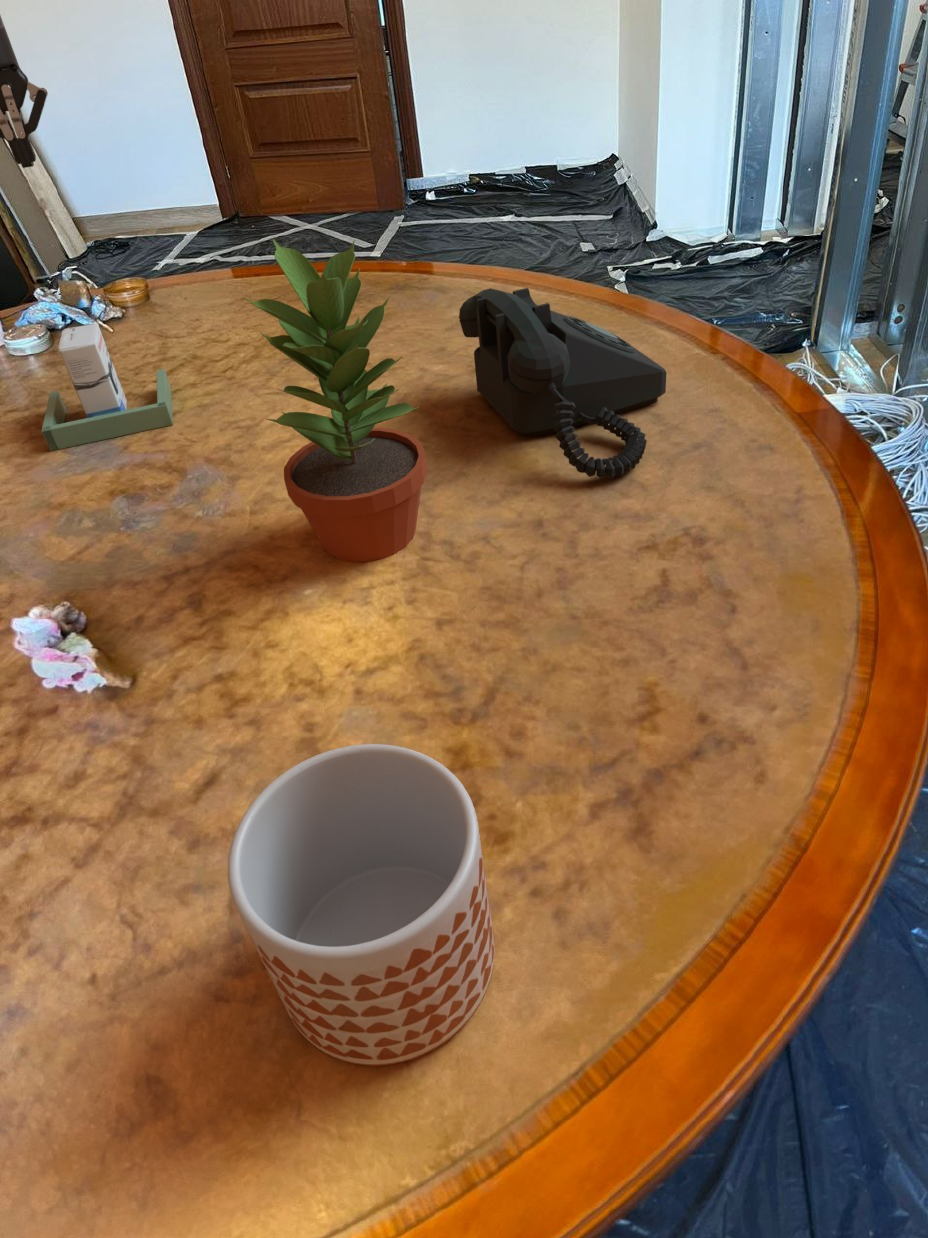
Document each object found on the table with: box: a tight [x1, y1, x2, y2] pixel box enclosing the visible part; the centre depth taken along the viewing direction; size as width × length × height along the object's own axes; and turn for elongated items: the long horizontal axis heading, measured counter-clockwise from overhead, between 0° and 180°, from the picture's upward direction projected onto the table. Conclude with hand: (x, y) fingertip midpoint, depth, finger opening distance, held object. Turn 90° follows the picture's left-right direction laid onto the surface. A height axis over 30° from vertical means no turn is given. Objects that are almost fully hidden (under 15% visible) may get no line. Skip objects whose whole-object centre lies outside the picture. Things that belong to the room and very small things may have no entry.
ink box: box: [57, 322, 128, 418], centre depth 118 cm, size 8×5×12 cm, turn 16°
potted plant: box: [243, 237, 429, 563], centre depth 82 cm, size 15×15×30 cm
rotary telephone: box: [458, 287, 667, 479], centre depth 103 cm, size 33×22×15 cm, turn 20°
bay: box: [40, 368, 174, 452], centre depth 120 cm, size 13×16×3 cm
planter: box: [227, 743, 496, 1067], centre depth 50 cm, size 14×14×13 cm
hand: (28, 165), depth 129 cm, fingers closed
